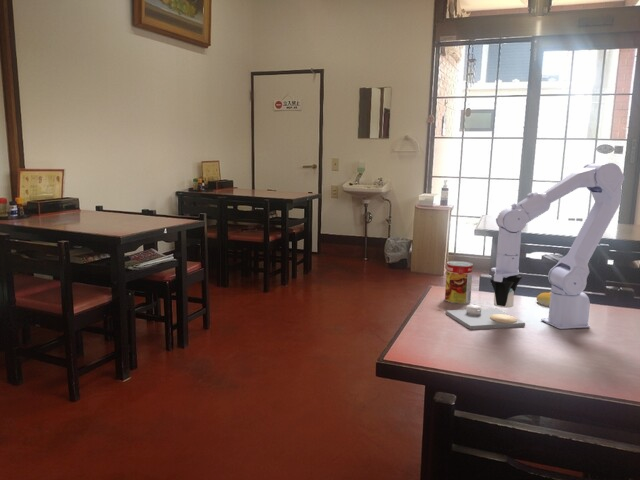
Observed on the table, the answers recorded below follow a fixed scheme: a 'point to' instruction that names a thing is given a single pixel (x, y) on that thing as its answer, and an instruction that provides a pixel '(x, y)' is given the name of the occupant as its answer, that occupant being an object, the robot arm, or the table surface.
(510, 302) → the cap
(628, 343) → the table surface
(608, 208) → the robot arm
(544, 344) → the table surface
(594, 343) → the table surface
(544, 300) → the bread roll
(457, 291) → the canned food
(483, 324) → the post board
